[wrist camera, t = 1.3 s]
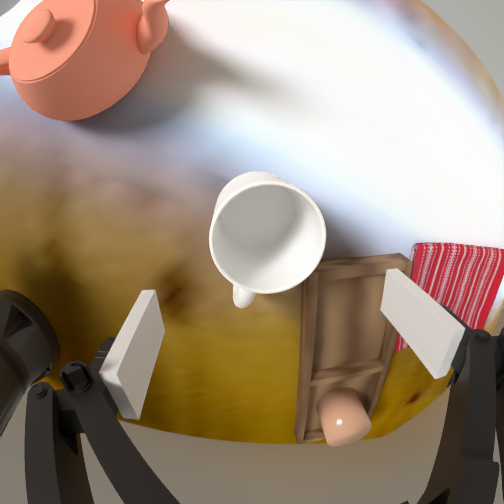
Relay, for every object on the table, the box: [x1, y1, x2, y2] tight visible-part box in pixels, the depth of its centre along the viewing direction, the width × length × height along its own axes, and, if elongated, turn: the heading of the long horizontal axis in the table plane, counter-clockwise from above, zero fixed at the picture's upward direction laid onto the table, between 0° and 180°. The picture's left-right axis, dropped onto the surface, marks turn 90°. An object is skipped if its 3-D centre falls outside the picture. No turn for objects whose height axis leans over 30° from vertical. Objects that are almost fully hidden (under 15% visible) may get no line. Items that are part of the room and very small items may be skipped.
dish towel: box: [394, 243, 504, 351], centre depth 35 cm, size 17×24×3 cm
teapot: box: [0, 0, 169, 121], centre depth 16 cm, size 22×15×12 cm
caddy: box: [294, 253, 412, 444], centre depth 36 cm, size 13×33×3 cm, turn 3°
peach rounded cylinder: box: [316, 387, 372, 447], centre depth 36 cm, size 7×7×7 cm
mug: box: [209, 172, 326, 308], centre depth 25 cm, size 12×8×10 cm
